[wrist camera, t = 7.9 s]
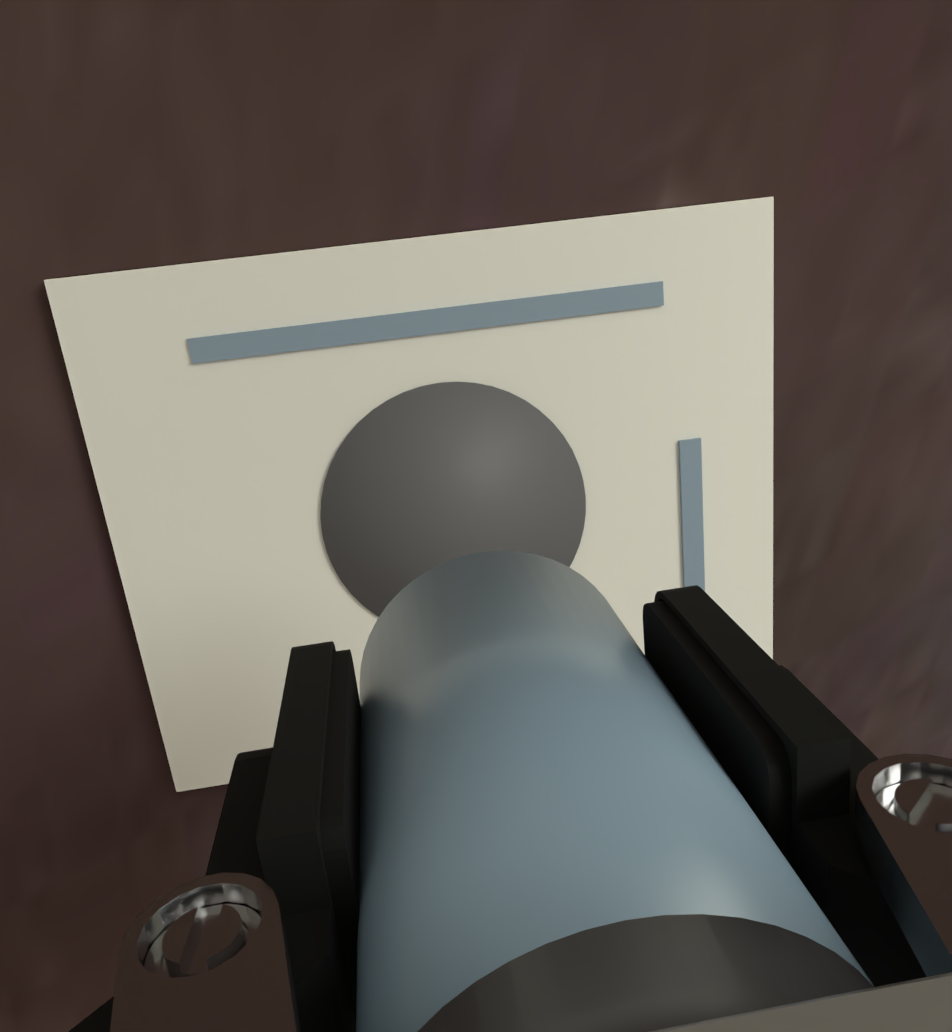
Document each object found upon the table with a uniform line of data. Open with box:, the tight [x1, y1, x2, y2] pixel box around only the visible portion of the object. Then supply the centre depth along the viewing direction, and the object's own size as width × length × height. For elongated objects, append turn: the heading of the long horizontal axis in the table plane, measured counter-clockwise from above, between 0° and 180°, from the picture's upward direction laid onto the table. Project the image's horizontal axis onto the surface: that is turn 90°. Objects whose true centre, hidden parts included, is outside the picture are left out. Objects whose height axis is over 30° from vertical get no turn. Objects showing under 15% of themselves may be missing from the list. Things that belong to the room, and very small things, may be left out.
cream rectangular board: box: [44, 197, 774, 792], centre depth 20 cm, size 15×12×1 cm
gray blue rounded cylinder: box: [356, 550, 874, 1032], centre depth 8 cm, size 4×4×9 cm
